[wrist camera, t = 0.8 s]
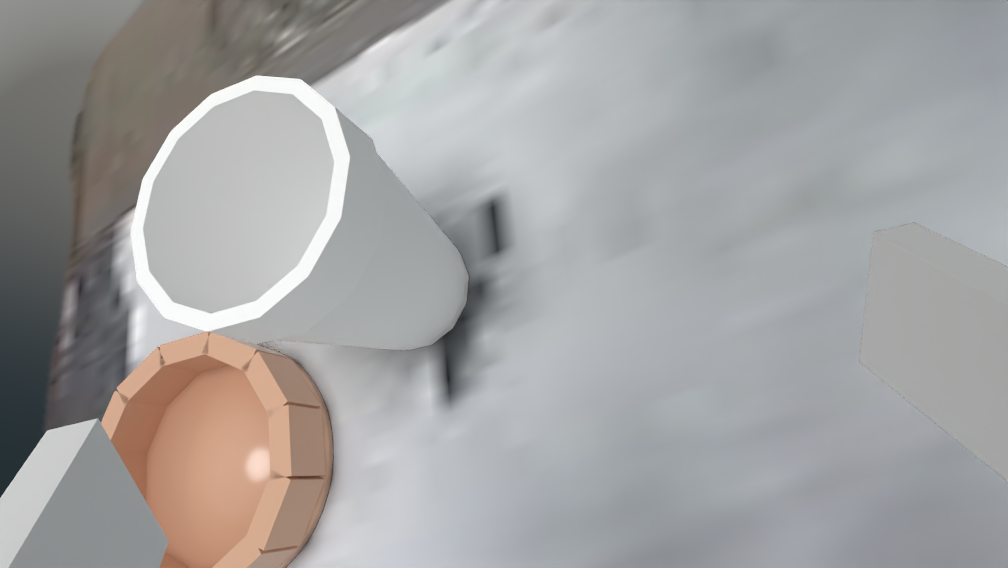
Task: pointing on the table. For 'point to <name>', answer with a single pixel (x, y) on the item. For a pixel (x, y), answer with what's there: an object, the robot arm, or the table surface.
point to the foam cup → (290, 228)
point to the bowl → (225, 450)
